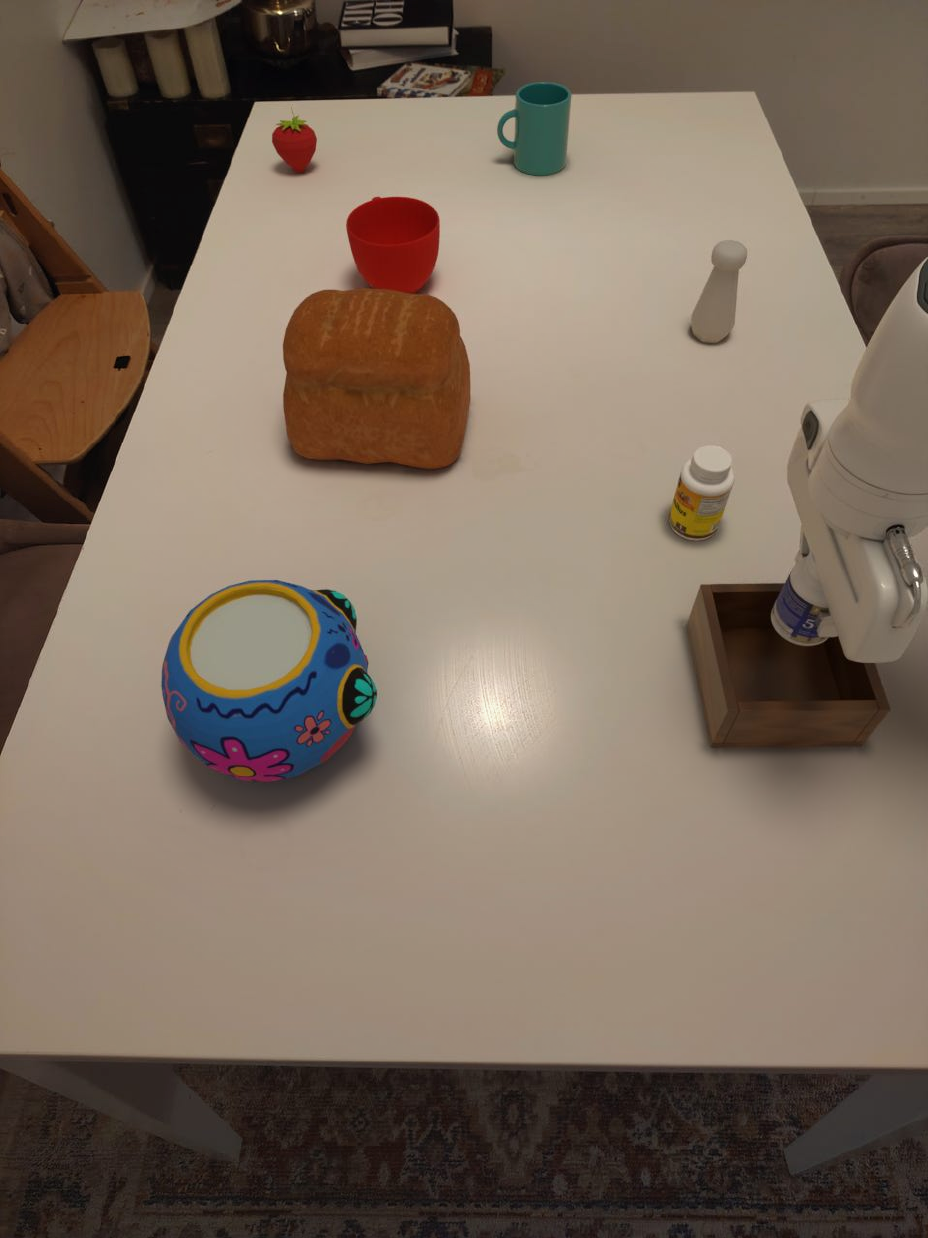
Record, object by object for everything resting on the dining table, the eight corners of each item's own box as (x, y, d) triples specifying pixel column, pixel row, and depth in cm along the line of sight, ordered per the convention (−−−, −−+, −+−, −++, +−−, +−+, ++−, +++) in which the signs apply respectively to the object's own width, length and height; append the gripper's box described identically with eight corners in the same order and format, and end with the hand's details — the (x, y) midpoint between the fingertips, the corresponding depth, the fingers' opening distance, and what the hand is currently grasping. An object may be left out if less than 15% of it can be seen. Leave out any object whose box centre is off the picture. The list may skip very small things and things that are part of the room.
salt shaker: (699, 317, 116) (721, 228, 105) (737, 331, 114) (763, 241, 103) (680, 338, 113) (700, 248, 103) (718, 353, 111) (743, 263, 101)
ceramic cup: (420, 242, 129) (416, 176, 121) (453, 301, 119) (451, 234, 111) (339, 257, 127) (330, 192, 118) (367, 319, 117) (358, 253, 109)
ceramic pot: (397, 780, 75) (381, 696, 63) (202, 834, 73) (146, 758, 61) (357, 630, 85) (336, 533, 73) (183, 673, 83) (132, 580, 70)
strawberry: (280, 164, 144) (268, 101, 136) (323, 163, 144) (314, 101, 136) (275, 181, 141) (263, 118, 133) (319, 180, 141) (310, 117, 133)
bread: (315, 378, 110) (291, 259, 96) (475, 389, 108) (474, 269, 94) (282, 470, 99) (250, 351, 86) (458, 483, 98) (455, 364, 84)
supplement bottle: (663, 507, 95) (680, 440, 86) (711, 505, 95) (733, 438, 87) (672, 544, 92) (691, 477, 83) (722, 542, 92) (746, 475, 83)
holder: (822, 624, 85) (846, 582, 79) (860, 747, 77) (891, 709, 71) (685, 626, 85) (700, 583, 79) (709, 748, 77) (728, 711, 71)
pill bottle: (794, 656, 71) (829, 592, 63) (757, 611, 73) (787, 545, 66) (844, 635, 72) (885, 570, 65) (807, 591, 75) (841, 525, 67)
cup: (494, 154, 145) (495, 83, 136) (562, 151, 145) (568, 80, 136) (498, 179, 140) (499, 107, 131) (568, 176, 140) (574, 104, 131)
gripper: (977, 594, 52) (890, 704, 64) (881, 387, 64) (821, 510, 76) (877, 596, 52) (807, 705, 64) (800, 388, 64) (752, 511, 76)
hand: (815, 597), depth 70 cm, fingers closed on pill bottle, 5 cm apart
